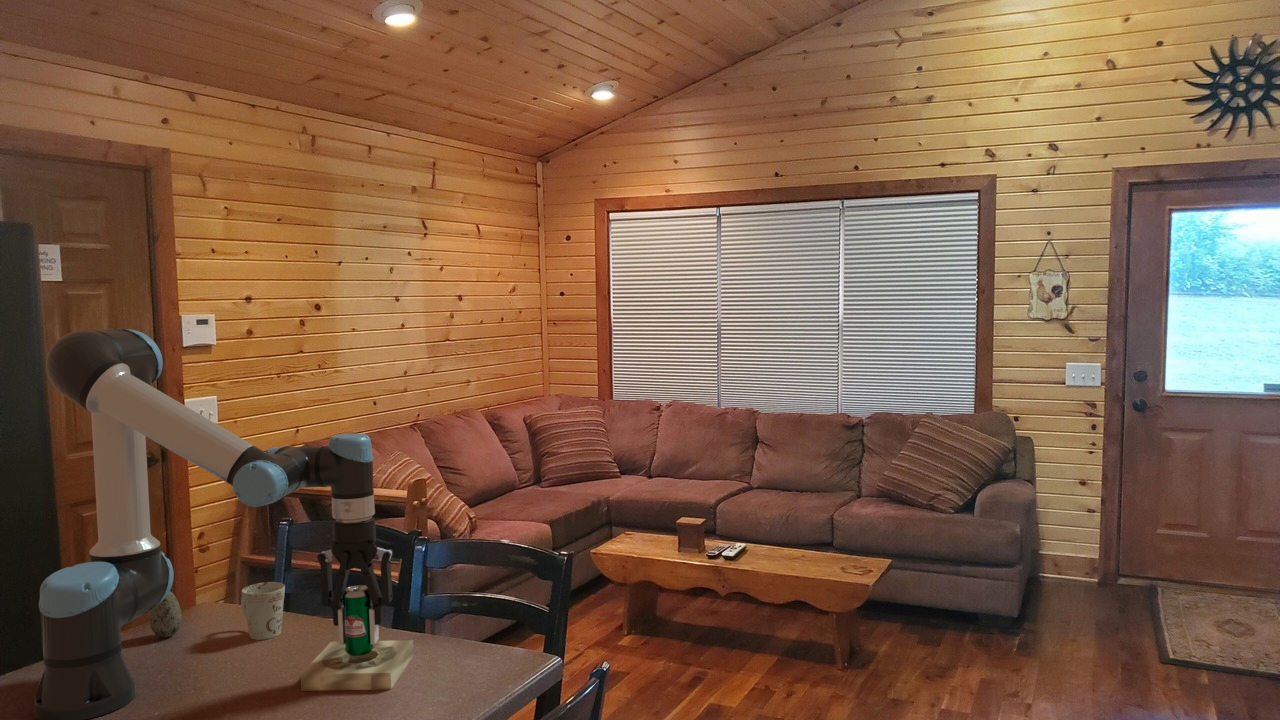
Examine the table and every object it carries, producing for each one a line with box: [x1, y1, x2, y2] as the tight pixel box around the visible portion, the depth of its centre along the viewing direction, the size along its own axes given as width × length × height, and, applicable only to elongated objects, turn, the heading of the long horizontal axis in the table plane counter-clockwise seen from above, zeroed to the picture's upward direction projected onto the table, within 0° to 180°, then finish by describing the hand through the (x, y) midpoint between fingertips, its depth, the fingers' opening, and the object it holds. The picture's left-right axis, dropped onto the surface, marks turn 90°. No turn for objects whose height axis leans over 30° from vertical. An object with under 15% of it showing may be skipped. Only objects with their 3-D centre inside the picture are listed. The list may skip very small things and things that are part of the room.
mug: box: [240, 581, 286, 641], centre depth 195 cm, size 8×13×10 cm, turn 57°
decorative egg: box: [149, 590, 183, 638], centre depth 194 cm, size 6×6×10 cm
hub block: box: [300, 639, 415, 692], centre depth 173 cm, size 16×16×3 cm
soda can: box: [342, 584, 374, 656], centre depth 172 cm, size 5×5×12 cm
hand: (359, 641), depth 173 cm, fingers closed on soda can, 5 cm apart
